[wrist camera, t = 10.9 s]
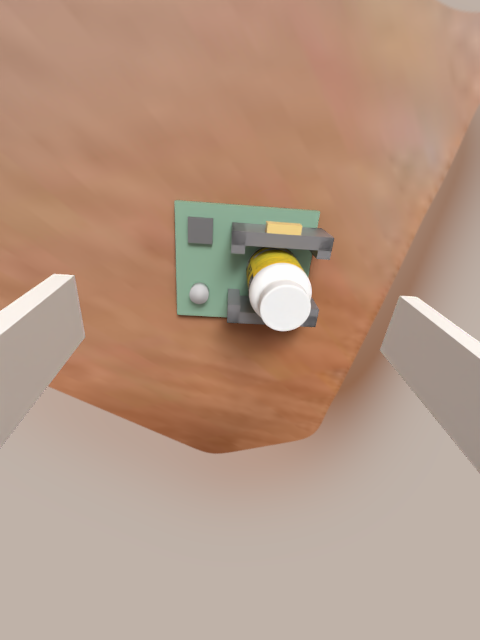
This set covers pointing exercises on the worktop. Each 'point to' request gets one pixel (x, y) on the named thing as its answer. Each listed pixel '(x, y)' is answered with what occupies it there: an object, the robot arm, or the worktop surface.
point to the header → (276, 238)
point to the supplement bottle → (278, 288)
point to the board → (221, 251)
